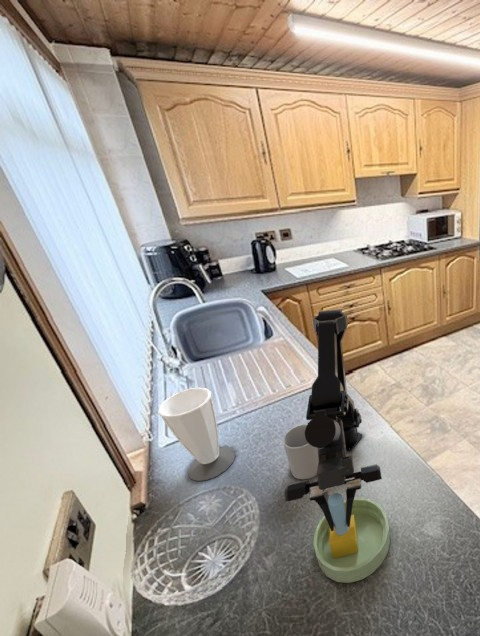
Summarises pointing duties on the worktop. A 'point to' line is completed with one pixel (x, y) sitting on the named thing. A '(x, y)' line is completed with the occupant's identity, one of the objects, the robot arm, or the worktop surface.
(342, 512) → the sponge wand
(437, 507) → the worktop surface
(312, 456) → the mug
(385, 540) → the bowl
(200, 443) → the cup
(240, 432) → the worktop surface
